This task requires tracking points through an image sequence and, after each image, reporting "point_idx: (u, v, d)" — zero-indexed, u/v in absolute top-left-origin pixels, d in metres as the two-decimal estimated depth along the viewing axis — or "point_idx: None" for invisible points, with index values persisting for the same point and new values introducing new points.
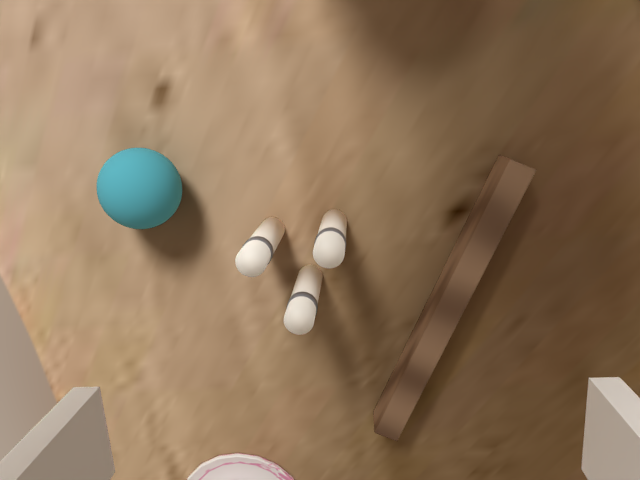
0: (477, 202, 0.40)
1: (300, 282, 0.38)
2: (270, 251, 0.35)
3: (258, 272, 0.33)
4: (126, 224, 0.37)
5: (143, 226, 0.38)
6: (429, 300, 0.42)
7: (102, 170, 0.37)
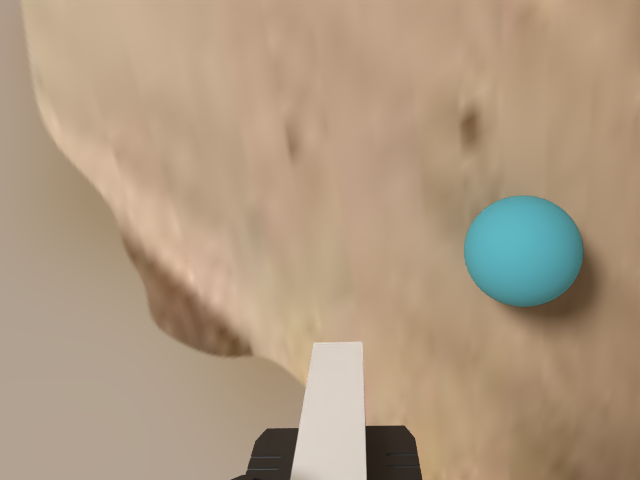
0: None
1: None
2: None
3: None
4: (542, 302, 0.27)
5: None
6: None
7: (483, 252, 0.27)
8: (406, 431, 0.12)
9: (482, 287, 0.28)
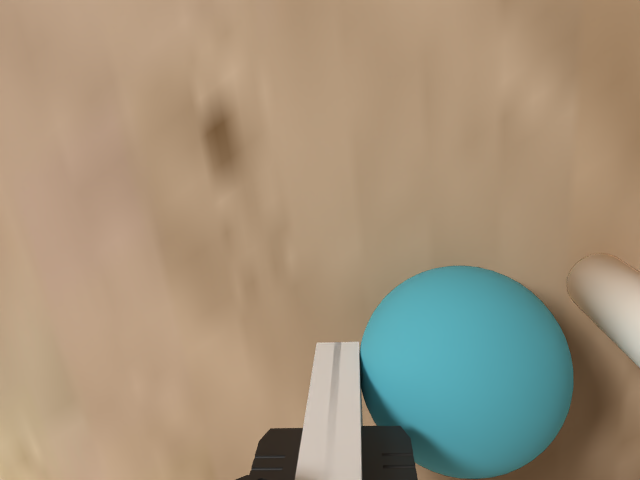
0: None
1: None
2: None
3: None
4: None
5: None
6: None
7: (496, 420, 0.12)
8: (402, 431, 0.12)
9: (468, 475, 0.14)
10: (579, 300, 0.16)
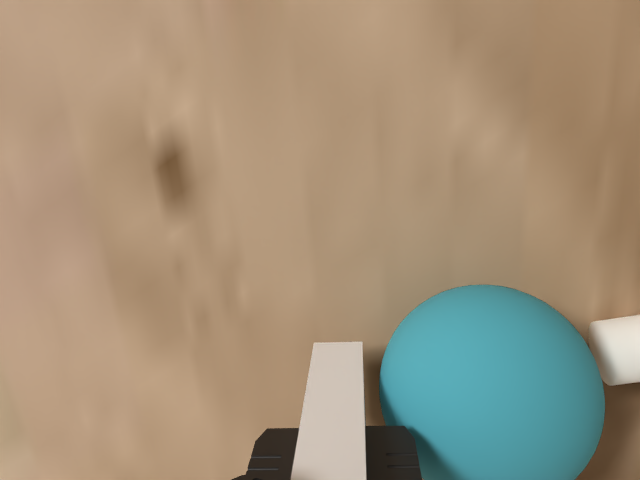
0: None
1: None
2: None
3: None
4: None
5: None
6: None
7: (583, 412, 0.12)
8: (406, 431, 0.12)
9: None
10: None
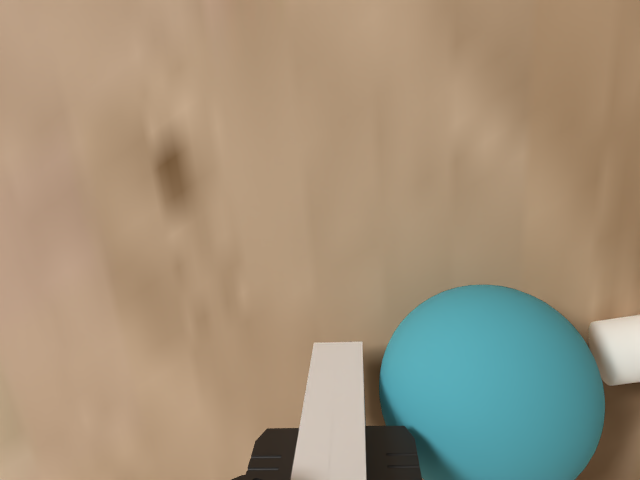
0: None
1: None
2: None
3: None
4: None
5: None
6: None
7: (583, 412, 0.12)
8: (406, 431, 0.12)
9: None
10: None
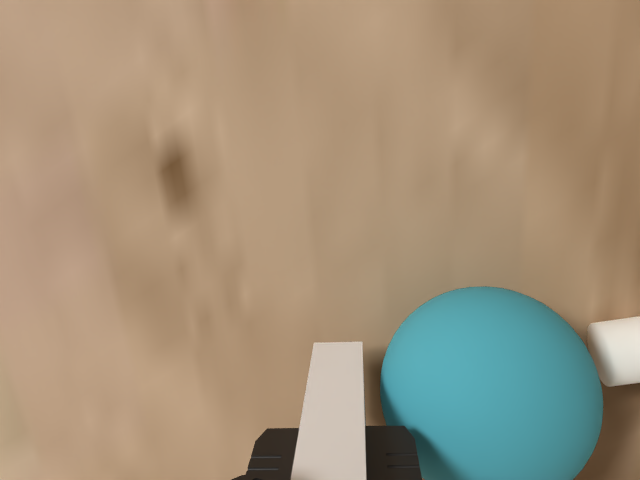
0: None
1: None
2: None
3: None
4: None
5: None
6: None
7: (582, 412, 0.12)
8: (406, 431, 0.12)
9: None
10: None
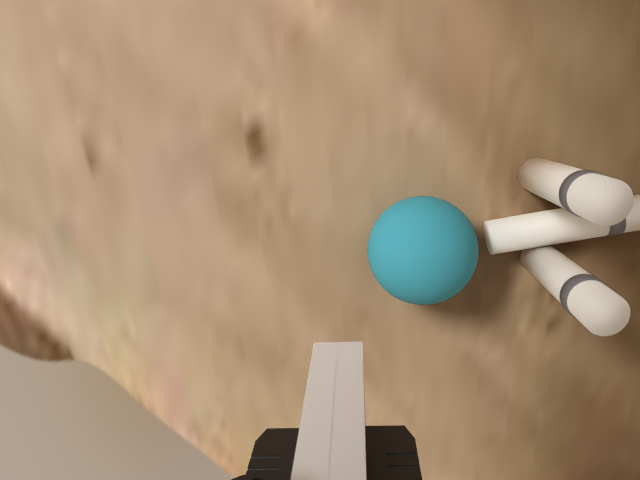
0: None
1: (550, 268, 0.27)
2: None
3: None
4: None
5: None
6: None
7: (461, 247, 0.26)
8: (406, 431, 0.12)
9: (447, 288, 0.27)
10: (511, 249, 0.30)
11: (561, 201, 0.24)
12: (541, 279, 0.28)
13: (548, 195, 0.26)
